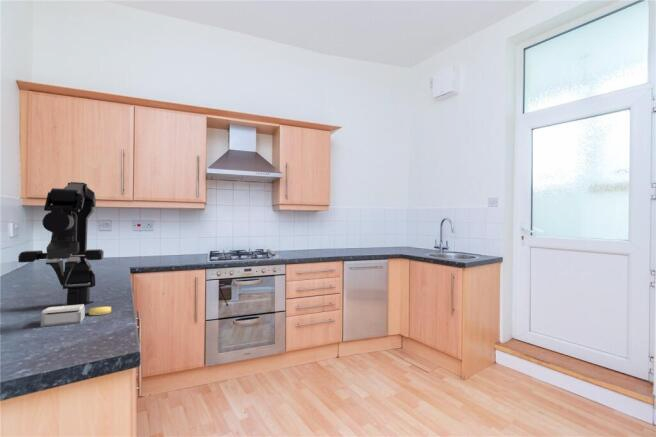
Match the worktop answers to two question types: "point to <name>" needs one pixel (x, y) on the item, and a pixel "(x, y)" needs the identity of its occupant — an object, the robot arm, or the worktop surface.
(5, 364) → the worktop surface
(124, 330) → the worktop surface
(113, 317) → the worktop surface
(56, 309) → the lid
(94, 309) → the yellow rounded disc
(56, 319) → the grey frame
